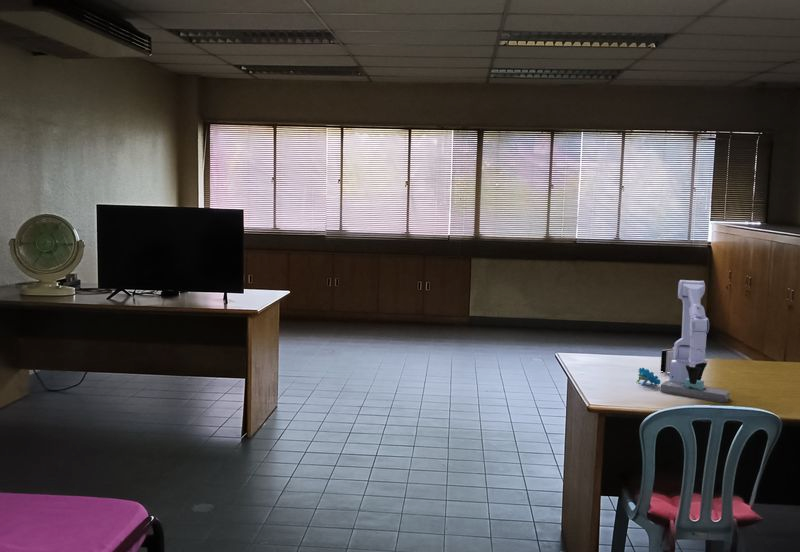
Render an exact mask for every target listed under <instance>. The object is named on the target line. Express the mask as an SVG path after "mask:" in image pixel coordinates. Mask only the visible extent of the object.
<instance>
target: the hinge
mask: <svg viewBox="0 0 800 552" xmlns="http://www.w3.org/2000/svg"><path fill="white" fill-rule="evenodd" d="M673 351H674V346H673V347H672V348H671V349H670V348H669V349H663V350H661V357H660V358H661V360H660V371H663V372H670V365H671V361H672V360H675V359H674V356H673ZM663 372H662V373H663Z"/></svg>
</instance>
